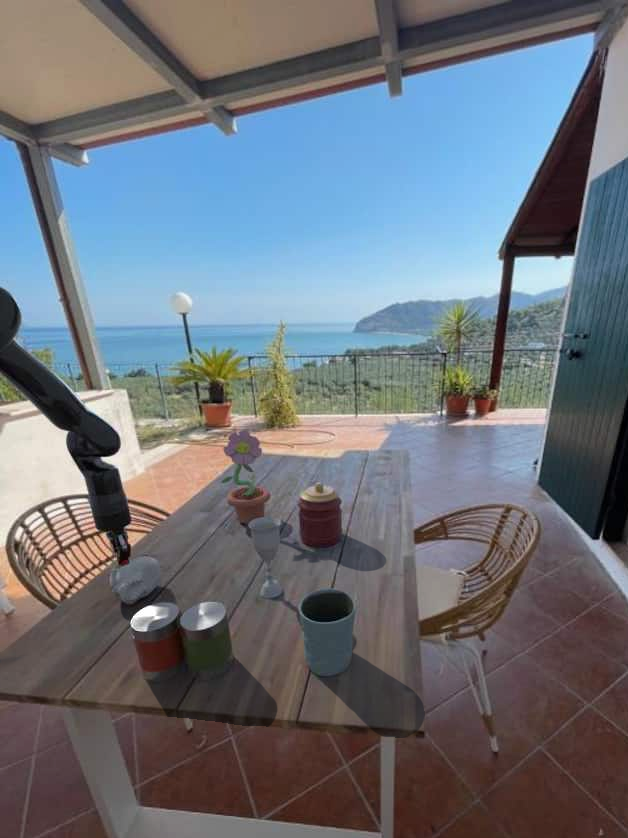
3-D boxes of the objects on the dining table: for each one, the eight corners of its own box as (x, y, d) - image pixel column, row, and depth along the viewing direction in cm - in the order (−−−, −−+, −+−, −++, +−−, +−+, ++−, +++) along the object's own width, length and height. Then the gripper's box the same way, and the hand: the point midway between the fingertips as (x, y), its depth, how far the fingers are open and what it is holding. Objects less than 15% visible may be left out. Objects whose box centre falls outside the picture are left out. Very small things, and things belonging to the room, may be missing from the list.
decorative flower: (226, 532, 122) (213, 439, 112) (225, 514, 134) (214, 429, 124) (274, 525, 126) (266, 435, 116) (269, 509, 139) (262, 426, 128)
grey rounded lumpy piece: (130, 614, 84) (101, 597, 93) (178, 588, 93) (147, 575, 102) (118, 577, 82) (89, 563, 91) (169, 554, 90) (138, 543, 99)
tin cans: (133, 682, 68) (120, 632, 64) (154, 649, 75) (143, 602, 72) (226, 680, 68) (218, 630, 65) (238, 648, 76) (231, 600, 72)
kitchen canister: (312, 525, 126) (309, 473, 120) (349, 531, 122) (348, 478, 116) (291, 543, 115) (287, 487, 109) (331, 551, 110) (329, 493, 105)
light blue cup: (292, 668, 71) (287, 614, 67) (319, 632, 80) (316, 582, 76) (341, 687, 67) (340, 630, 63) (364, 647, 76) (364, 595, 72)
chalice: (249, 596, 91) (241, 527, 85) (266, 580, 97) (259, 515, 91) (276, 603, 88) (269, 532, 82) (292, 586, 94) (286, 519, 88)
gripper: (85, 504, 95) (102, 565, 101) (98, 521, 86) (115, 586, 92) (120, 495, 100) (133, 554, 106) (135, 511, 91) (149, 574, 97)
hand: (125, 569), depth 99 cm, fingers closed
